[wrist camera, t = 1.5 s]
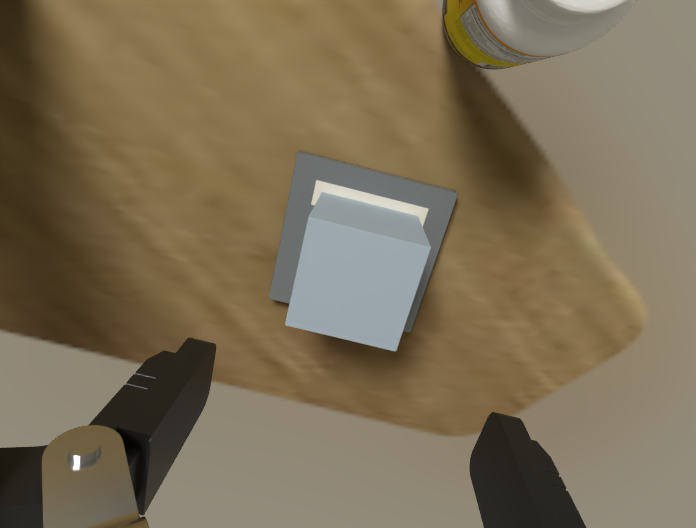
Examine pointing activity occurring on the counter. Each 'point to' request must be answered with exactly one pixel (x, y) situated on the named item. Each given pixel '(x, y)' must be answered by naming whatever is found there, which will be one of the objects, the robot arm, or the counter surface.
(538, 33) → the supplement bottle
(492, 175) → the counter surface
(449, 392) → the counter surface
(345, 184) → the board
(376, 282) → the blue block
